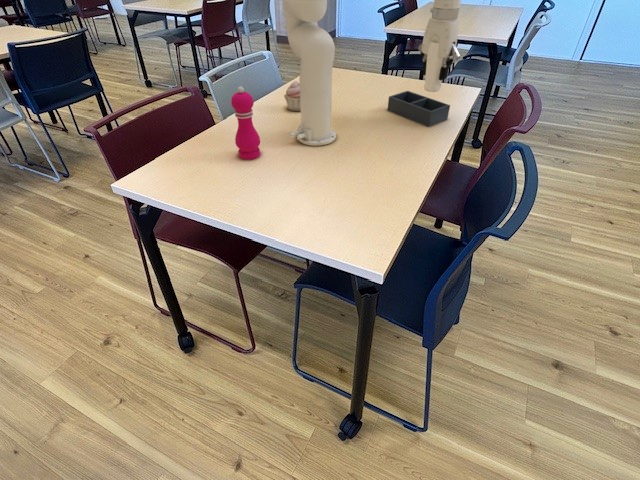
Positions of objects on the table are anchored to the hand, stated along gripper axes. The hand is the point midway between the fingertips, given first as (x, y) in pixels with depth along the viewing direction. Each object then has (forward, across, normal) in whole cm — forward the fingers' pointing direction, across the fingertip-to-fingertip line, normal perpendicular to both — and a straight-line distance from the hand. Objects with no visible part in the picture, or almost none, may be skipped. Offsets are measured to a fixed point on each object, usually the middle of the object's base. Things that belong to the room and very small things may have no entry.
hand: (434, 76), depth 125 cm
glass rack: (+14, -5, 0) cm, 15 cm away
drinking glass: (+5, 0, 0) cm, 5 cm away
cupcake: (+14, -37, -30) cm, 50 cm away
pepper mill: (+14, -15, -63) cm, 66 cm away
